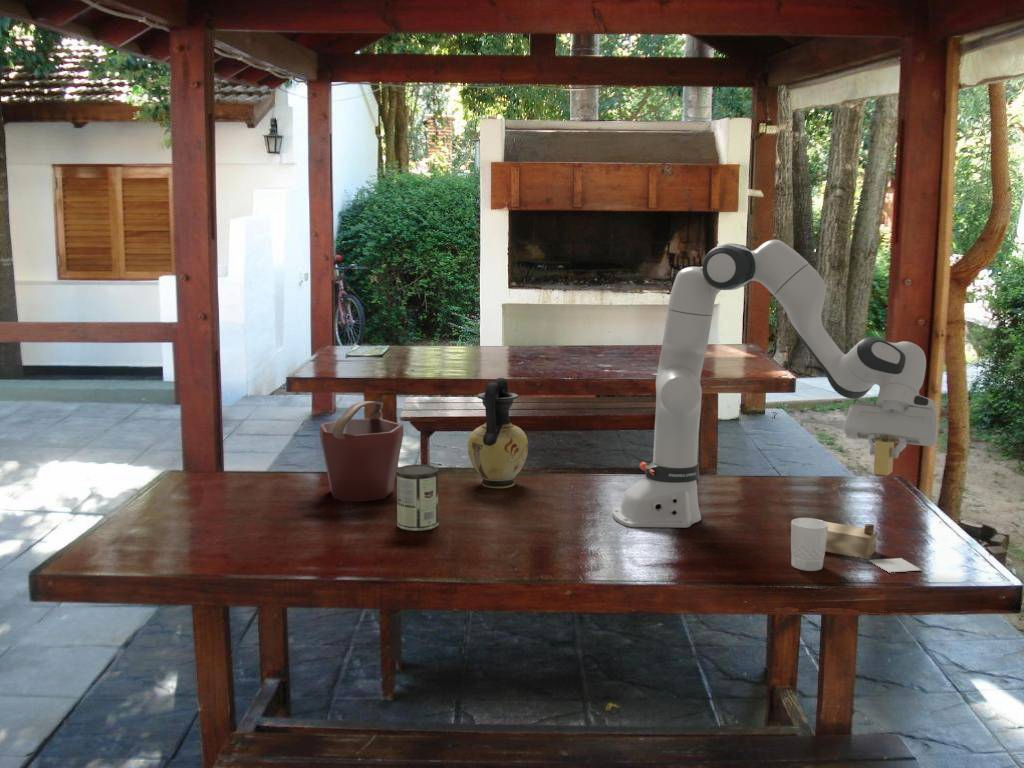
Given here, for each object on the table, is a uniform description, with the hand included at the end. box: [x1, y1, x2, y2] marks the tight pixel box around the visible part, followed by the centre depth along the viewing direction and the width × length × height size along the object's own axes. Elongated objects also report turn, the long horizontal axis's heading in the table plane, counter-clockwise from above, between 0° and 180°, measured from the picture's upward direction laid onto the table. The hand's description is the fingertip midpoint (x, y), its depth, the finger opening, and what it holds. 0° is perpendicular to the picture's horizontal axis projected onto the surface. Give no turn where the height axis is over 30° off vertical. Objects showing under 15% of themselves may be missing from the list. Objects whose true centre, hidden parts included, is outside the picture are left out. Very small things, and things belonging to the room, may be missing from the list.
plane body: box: [825, 521, 878, 560], centre depth 250 cm, size 14×7×7 cm, turn 57°
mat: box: [868, 557, 922, 574], centre depth 239 cm, size 8×8×1 cm
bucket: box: [318, 400, 404, 503], centre depth 290 cm, size 24×22×25 cm
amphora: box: [467, 377, 529, 489], centre depth 301 cm, size 18×17×30 cm
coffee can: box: [396, 464, 439, 532], centre depth 264 cm, size 10×10×14 cm
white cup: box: [790, 517, 828, 572], centre depth 238 cm, size 8×8×10 cm
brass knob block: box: [873, 436, 895, 476], centre depth 240 cm, size 3×4×8 cm, turn 148°
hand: (883, 455), depth 239 cm, fingers closed on brass knob block, 3 cm apart
